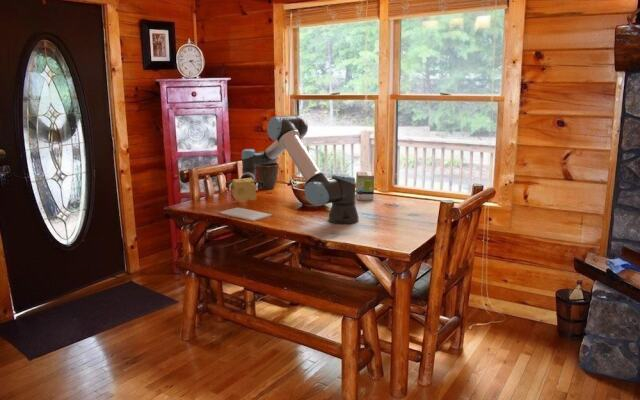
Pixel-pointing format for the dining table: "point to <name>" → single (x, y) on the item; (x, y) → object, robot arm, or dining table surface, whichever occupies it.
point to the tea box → (365, 185)
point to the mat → (245, 214)
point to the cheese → (244, 189)
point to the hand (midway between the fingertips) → (243, 188)
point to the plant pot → (267, 174)
